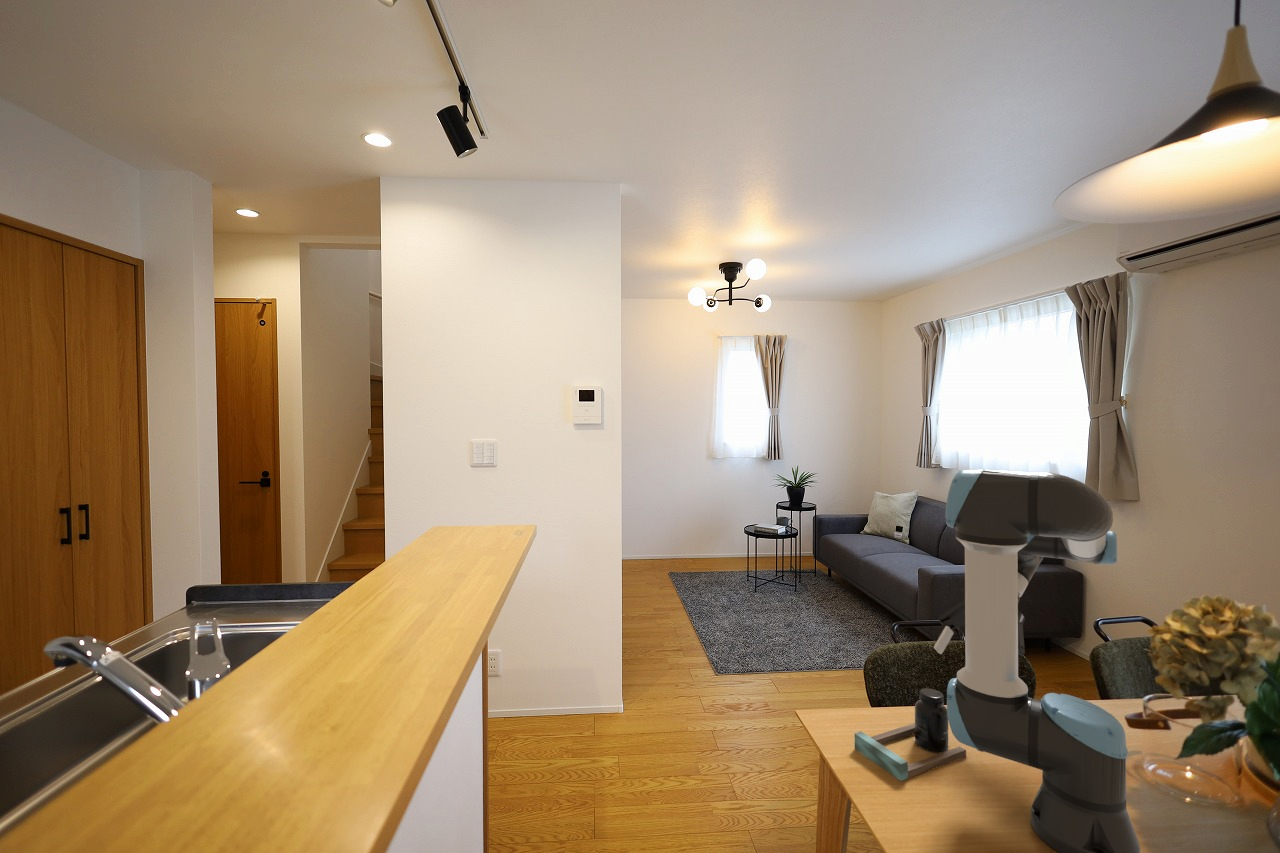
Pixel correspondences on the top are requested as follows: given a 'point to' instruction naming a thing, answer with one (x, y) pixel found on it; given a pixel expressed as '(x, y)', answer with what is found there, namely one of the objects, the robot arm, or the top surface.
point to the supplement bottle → (931, 721)
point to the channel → (895, 763)
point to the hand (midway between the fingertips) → (963, 661)
